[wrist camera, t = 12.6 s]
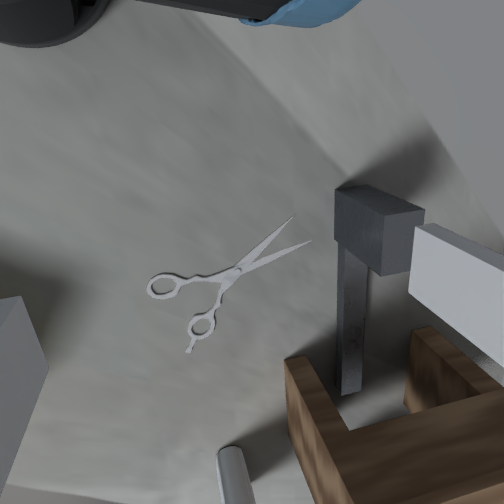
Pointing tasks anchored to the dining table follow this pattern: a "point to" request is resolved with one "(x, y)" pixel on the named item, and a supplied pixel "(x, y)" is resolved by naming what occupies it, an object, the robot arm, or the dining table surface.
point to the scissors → (225, 277)
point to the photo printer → (233, 477)
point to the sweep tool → (366, 264)
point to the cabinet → (404, 434)
